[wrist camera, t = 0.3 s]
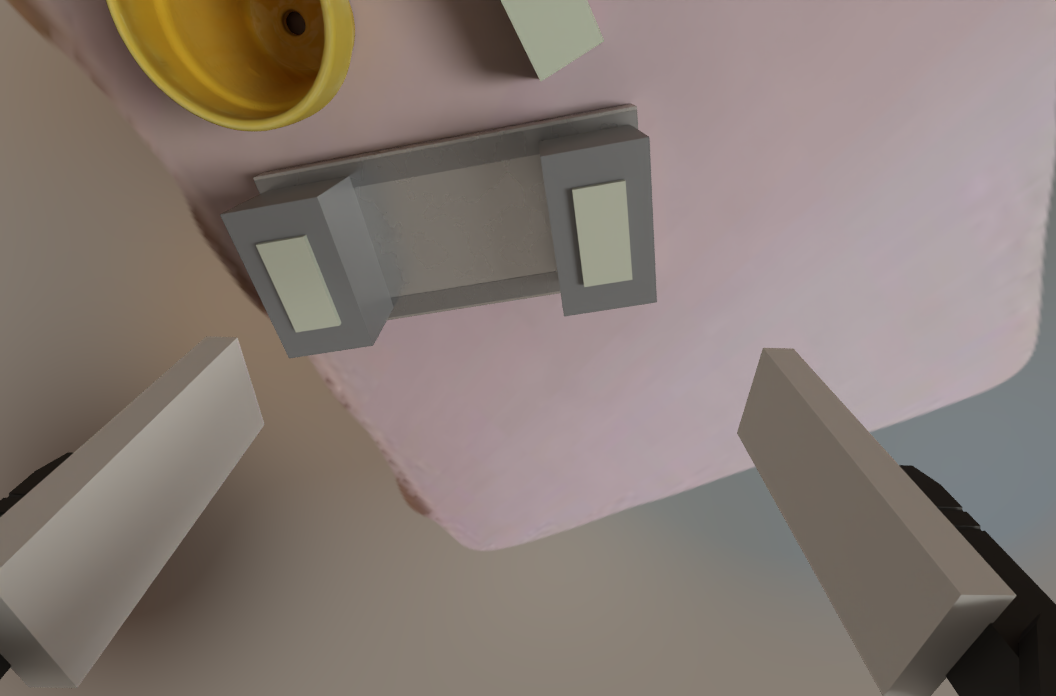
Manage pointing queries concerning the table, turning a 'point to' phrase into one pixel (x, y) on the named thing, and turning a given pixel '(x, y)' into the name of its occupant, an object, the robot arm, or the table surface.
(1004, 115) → the table surface
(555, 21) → the block
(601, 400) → the table surface
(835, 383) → the table surface
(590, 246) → the block
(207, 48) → the plant pot
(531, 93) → the table surface
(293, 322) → the module far
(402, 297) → the rail
